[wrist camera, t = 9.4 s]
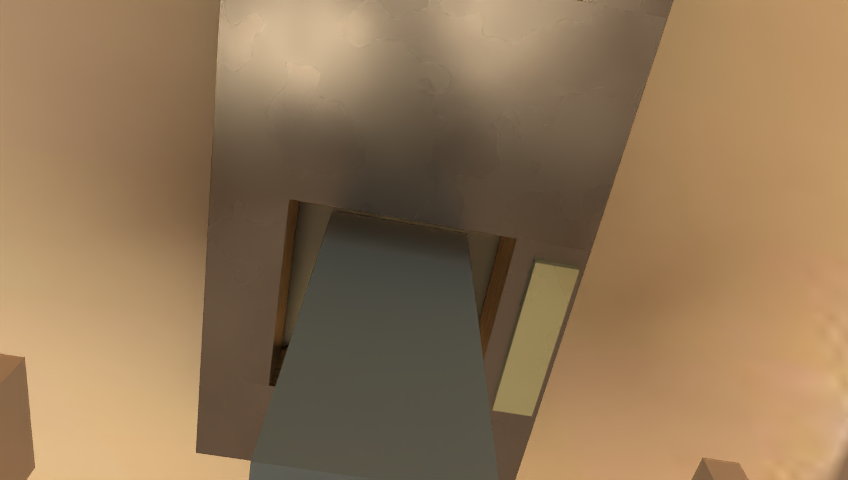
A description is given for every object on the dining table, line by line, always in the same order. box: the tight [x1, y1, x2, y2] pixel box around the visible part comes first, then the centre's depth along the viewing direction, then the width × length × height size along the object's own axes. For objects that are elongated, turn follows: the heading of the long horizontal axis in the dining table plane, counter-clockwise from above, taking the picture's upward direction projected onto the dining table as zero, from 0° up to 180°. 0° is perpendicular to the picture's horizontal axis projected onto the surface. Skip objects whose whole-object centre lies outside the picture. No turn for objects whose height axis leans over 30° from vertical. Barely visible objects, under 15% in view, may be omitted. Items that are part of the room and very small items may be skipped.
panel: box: [196, 0, 673, 480], centre depth 17 cm, size 24×10×2 cm, turn 169°
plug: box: [249, 211, 499, 480], centre depth 16 cm, size 5×4×10 cm
